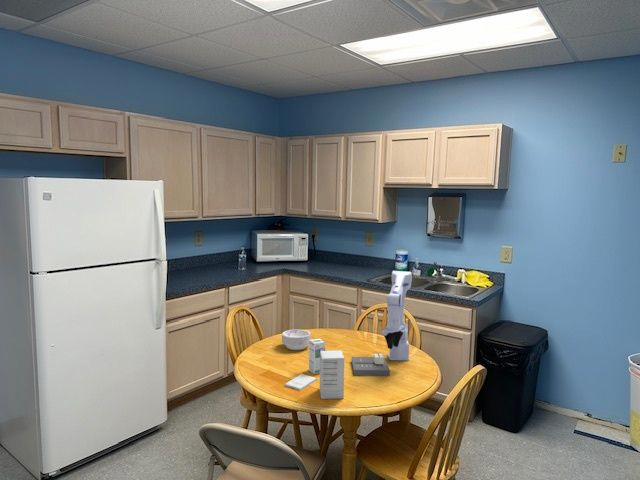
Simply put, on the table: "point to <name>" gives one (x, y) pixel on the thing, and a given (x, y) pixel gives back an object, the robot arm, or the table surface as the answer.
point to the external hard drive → (300, 382)
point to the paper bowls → (296, 339)
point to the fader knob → (378, 359)
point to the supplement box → (331, 374)
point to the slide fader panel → (369, 366)
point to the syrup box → (315, 354)
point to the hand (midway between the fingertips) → (392, 347)
